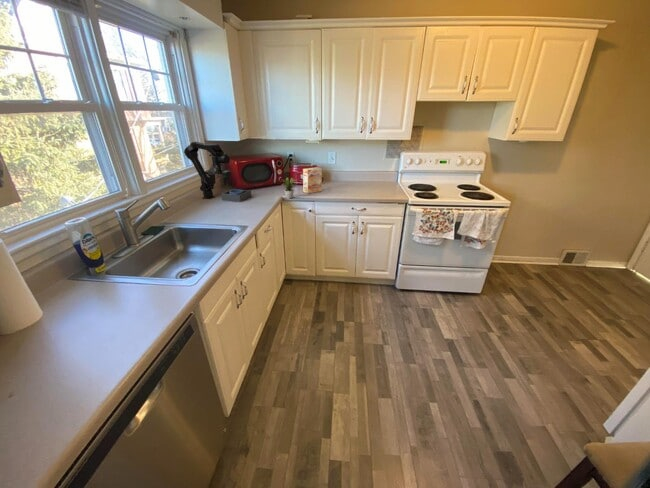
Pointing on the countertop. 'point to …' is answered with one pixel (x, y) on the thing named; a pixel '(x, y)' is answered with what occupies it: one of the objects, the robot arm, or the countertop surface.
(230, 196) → the tote
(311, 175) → the coffeecake box
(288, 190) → the house plant
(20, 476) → the countertop surface
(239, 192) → the rice bowl
